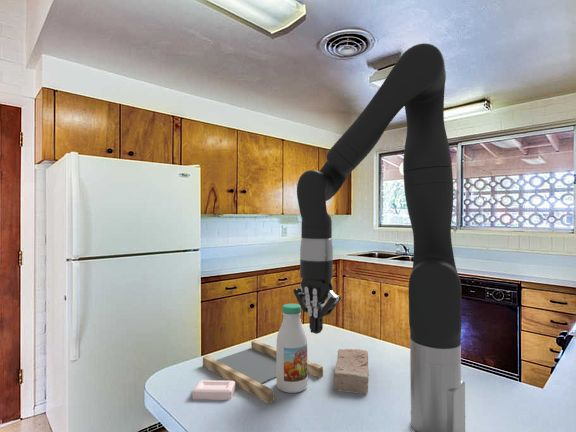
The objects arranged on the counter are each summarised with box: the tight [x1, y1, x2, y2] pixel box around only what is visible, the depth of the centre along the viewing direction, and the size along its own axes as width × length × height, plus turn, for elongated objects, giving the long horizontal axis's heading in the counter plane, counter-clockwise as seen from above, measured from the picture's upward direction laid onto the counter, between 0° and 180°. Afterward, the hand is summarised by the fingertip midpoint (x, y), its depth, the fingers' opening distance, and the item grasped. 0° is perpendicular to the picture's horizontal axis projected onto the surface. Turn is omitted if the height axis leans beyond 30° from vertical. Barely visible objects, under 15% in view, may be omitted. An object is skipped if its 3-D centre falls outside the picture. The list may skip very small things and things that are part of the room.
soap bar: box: [192, 379, 236, 401], centre depth 82 cm, size 5×9×2 cm, turn 87°
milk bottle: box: [275, 303, 309, 394], centre depth 85 cm, size 8×8×20 cm
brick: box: [333, 348, 370, 394], centre depth 90 cm, size 17×8×5 cm, turn 168°
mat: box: [216, 347, 277, 385], centre depth 96 cm, size 20×15×1 cm
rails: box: [202, 339, 324, 405], centre depth 93 cm, size 28×19×2 cm
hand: (315, 332), depth 79 cm, fingers closed
